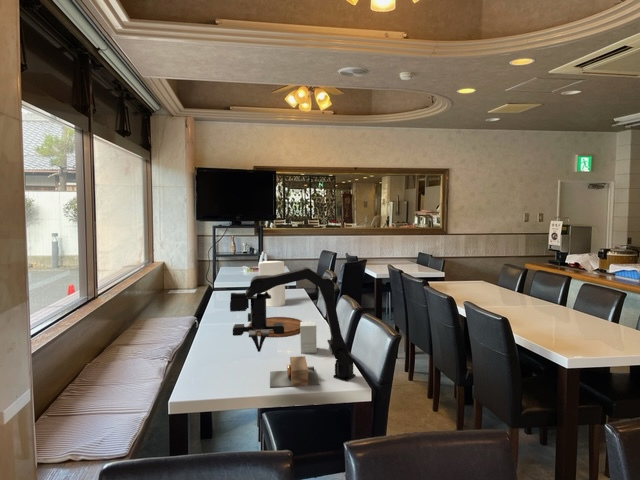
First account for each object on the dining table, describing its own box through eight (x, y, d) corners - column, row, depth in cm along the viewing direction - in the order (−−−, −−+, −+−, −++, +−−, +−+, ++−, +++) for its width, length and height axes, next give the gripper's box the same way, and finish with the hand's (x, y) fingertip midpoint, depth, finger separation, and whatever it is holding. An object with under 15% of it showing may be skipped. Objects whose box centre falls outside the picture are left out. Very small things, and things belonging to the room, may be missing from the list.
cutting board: (292, 341, 207) (292, 335, 207) (235, 334, 217) (235, 329, 217) (314, 323, 237) (314, 319, 237) (263, 318, 247) (263, 314, 247)
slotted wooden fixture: (315, 370, 169) (314, 355, 169) (318, 385, 155) (318, 369, 155) (270, 372, 167) (269, 357, 167) (269, 387, 153) (269, 371, 153)
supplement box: (316, 347, 196) (316, 321, 195) (316, 353, 189) (316, 325, 188) (300, 347, 196) (300, 321, 195) (300, 353, 188) (300, 325, 187)
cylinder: (256, 302, 286) (255, 261, 284) (280, 300, 293) (279, 260, 291) (263, 308, 271) (263, 265, 268) (289, 305, 278) (288, 263, 275)
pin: (313, 373, 164) (313, 361, 164) (314, 378, 160) (314, 366, 159) (287, 374, 163) (287, 363, 163) (287, 379, 159) (287, 367, 158)
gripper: (283, 304, 164) (283, 343, 166) (234, 306, 162) (235, 345, 163) (284, 311, 153) (284, 353, 155) (232, 313, 151) (232, 355, 152)
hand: (259, 351), depth 157 cm, fingers closed
